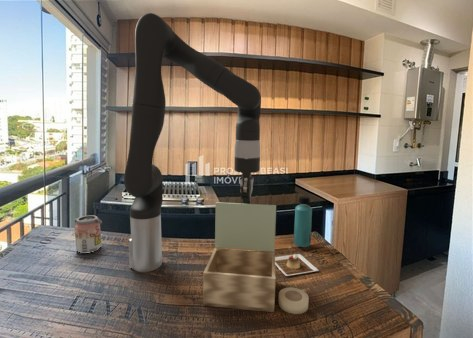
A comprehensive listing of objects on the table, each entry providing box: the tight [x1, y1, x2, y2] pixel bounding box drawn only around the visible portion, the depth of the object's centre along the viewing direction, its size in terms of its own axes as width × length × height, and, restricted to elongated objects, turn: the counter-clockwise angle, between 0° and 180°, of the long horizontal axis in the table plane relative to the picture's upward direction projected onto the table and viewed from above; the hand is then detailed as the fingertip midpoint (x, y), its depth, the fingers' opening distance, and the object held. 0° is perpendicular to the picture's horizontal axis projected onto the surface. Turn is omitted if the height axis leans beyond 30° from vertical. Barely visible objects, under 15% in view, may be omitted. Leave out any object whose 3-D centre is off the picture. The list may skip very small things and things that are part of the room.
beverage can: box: [74, 214, 103, 253], centre depth 99 cm, size 9×8×12 cm
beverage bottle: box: [293, 195, 313, 248], centre depth 103 cm, size 6×7×20 cm
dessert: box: [275, 253, 320, 277], centre depth 90 cm, size 12×12×5 cm
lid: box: [214, 201, 277, 253], centre depth 81 cm, size 18×14×1 cm
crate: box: [202, 247, 276, 313], centre depth 75 cm, size 18×14×9 cm
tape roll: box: [278, 286, 310, 315], centre depth 71 cm, size 8×8×2 cm
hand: (246, 211), depth 83 cm, fingers closed
